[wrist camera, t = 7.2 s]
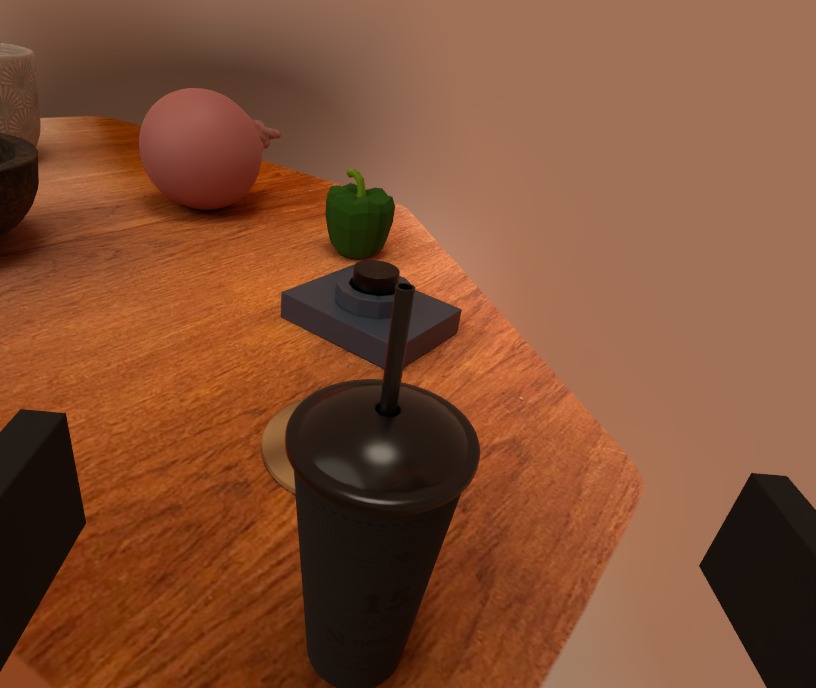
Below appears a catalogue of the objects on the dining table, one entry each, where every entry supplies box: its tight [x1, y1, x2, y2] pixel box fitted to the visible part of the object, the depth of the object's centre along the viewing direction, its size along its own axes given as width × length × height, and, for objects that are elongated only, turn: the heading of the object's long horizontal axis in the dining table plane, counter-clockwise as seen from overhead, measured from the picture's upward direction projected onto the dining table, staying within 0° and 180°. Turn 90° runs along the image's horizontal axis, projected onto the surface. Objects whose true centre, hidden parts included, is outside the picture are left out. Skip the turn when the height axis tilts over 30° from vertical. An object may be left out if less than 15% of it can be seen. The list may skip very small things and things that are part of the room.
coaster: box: [262, 398, 306, 494], centre depth 43 cm, size 12×12×1 cm
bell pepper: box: [326, 169, 395, 259], centre depth 73 cm, size 8×8×10 cm
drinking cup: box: [285, 283, 480, 688], centre depth 25 cm, size 8×8×20 cm
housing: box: [281, 265, 462, 369], centre depth 58 cm, size 14×11×4 cm
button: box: [352, 260, 400, 296], centre depth 57 cm, size 4×4×2 cm
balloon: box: [139, 88, 281, 210], centre depth 80 cm, size 15×20×15 cm
